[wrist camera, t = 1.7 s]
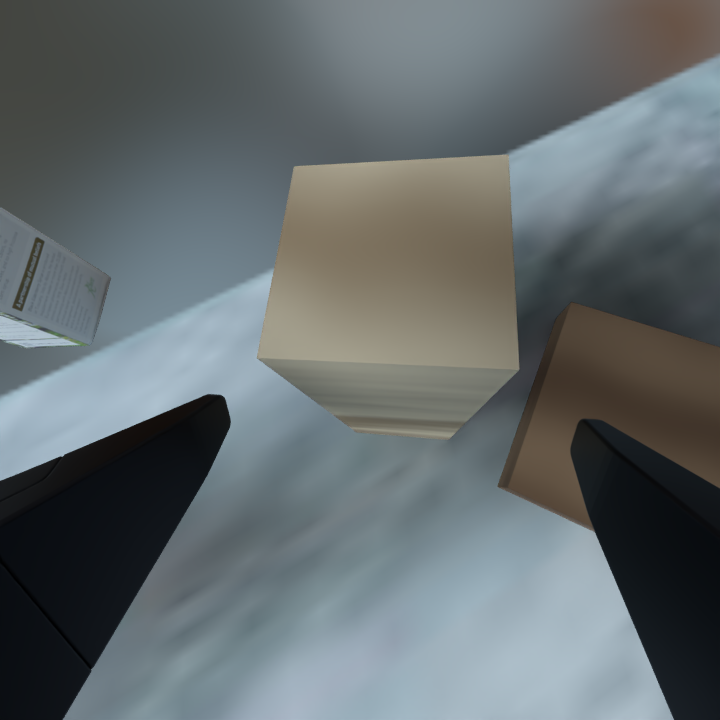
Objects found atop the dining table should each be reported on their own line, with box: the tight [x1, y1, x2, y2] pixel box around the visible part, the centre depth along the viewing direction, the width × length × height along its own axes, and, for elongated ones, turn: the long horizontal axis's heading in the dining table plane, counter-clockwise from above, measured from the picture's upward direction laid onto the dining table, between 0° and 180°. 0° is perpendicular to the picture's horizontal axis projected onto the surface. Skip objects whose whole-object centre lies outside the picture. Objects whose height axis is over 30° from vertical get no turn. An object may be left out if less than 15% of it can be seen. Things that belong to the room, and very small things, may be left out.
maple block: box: [257, 155, 519, 440], centre depth 13 cm, size 5×5×13 cm
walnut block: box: [497, 302, 720, 532], centre depth 16 cm, size 10×10×2 cm
